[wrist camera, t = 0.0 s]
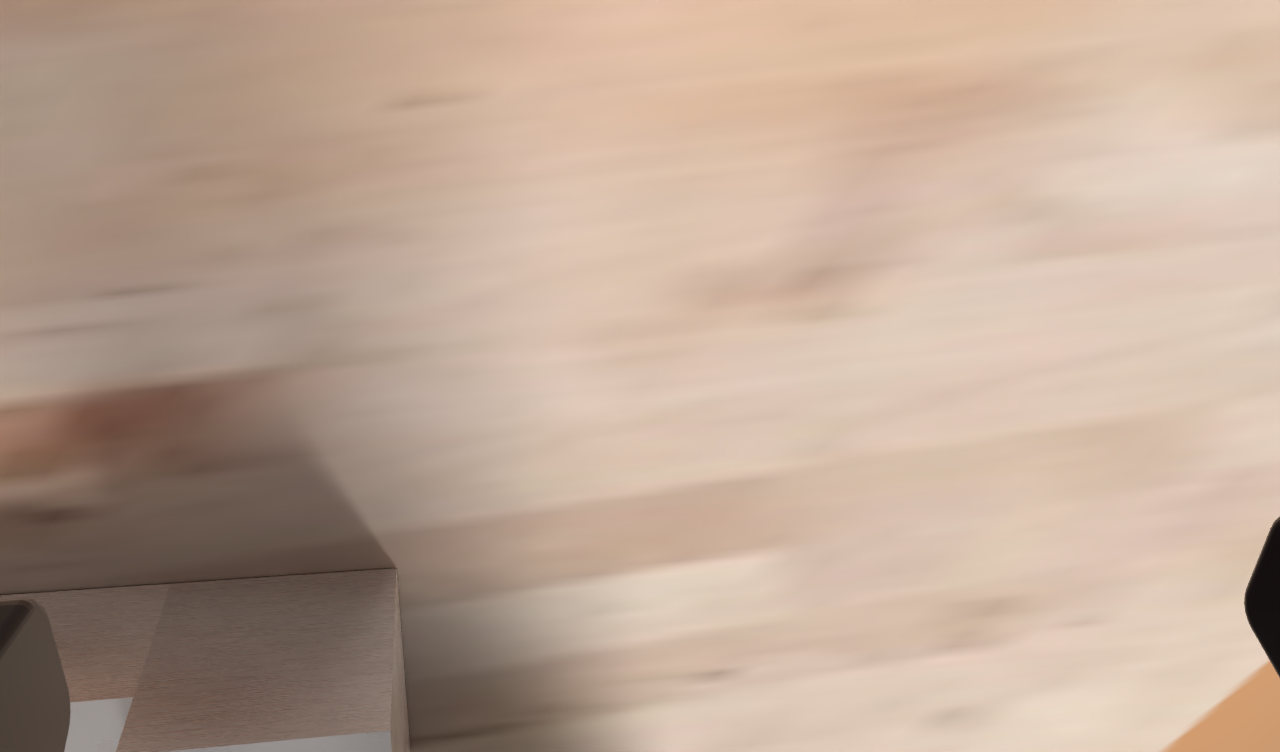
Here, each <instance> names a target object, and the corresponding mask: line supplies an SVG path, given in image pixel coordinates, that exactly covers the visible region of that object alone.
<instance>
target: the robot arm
mask: <svg viewBox="0 0 1280 752" xmlns="http://www.w3.org/2000/svg"><path fill="white" fill-rule="evenodd" d="M1244 605H1245V612H1246V616H1247V619H1248V622H1249V624H1250V626H1251V628H1252V630H1253V632H1254V633H1255V635H1256V637H1257V639H1258V640H1259V642H1260V644H1261V646H1262V647H1263V649H1264V651H1265V653H1266V654H1267V656H1268V658H1269V660H1270V661H1271V663H1272V665H1273V667H1274V668H1275V670H1276V672H1277V674H1278V675H1279V677H1280V517H1279V518H1278V519H1277V520H1276V521H1275V522H1274V523H1273V525H1272V527H1271V529H1270V531H1269V534H1268V536H1267V539H1266V541H1265V544H1264V546H1263V549H1262V551H1261V554H1260V556H1259V559H1258V561H1257V564H1256V566H1255V568H1254V571H1253V573H1252V576H1251V578H1250V581H1249V583H1248V586H1247V589H1246V592H1245V600H1244ZM69 725H70V695H69V690H68V686H67V682H66V679H65V675H64V671H63V668H62V664H61V661H60V657H59V653H58V650H57V646H56V643H55V639H54V635H53V632H52V628H51V625H50V621H49V618H48V615H47V613H46V611H45V609H44V608H43V606H42V605H41V604H40V603H39V602H37V601H35V600H33V599H29V598H23V599H8V600H0V752H64V750H65V745H66V741H67V736H68V731H69Z"/></svg>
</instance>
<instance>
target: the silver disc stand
mask: <svg viewBox="0 0 1280 752" xmlns="http://www.w3.org/2000/svg"><path fill="white" fill-rule="evenodd" d="M23 598H29V599H33V600H35V601H37V602H39V603H40V604H41V605H42V606H43V608H44V609H45V611H46V613H47V615H48V618H49V621H50V625H51V628H52V632H53V635H54V639H55V643H56V646H57V650H58V653H59V657H60V661H61V664H62V668H63V671H64V675H65V679H66V682H67V686H68V690H69V695H70V725H69V731H68V736H67V741H66V745H65V750H64V752H410V738H409V725H408V711H407V698H406V685H405V671H404V658H403V645H402V631H401V618H400V605H399V591H398V578H397V568H393V569H378V570H364V571H349V572H334V573H320V574H305V575H290V576H276V577H261V578H246V579H232V580H217V581H202V582H188V583H173V584H158V585H143V586H129V587H114V588H99V589H85V590H70V591H55V592H41V593H26V594H11V595H0V600H8V599H23Z"/></svg>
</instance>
